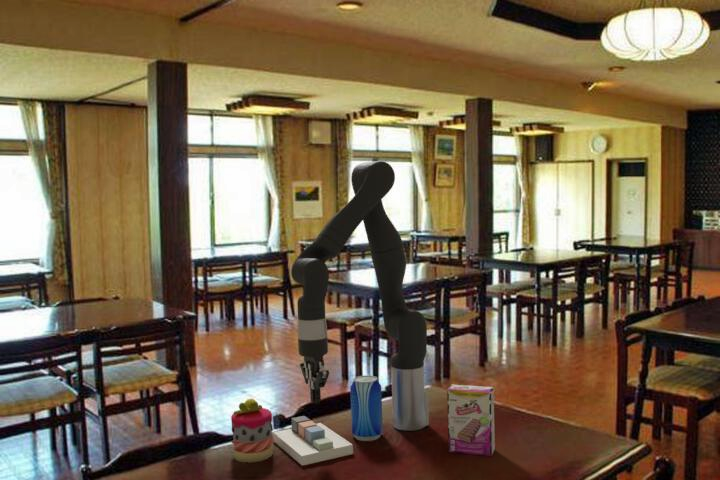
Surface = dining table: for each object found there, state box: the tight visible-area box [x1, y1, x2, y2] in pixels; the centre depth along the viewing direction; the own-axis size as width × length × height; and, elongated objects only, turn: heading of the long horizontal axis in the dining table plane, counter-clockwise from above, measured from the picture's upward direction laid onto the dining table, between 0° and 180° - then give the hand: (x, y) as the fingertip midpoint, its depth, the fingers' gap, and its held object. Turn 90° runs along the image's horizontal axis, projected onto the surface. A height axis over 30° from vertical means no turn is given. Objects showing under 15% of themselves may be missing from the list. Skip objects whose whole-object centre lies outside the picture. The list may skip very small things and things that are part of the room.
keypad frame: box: [272, 422, 354, 466], centre depth 178 cm, size 14×20×2 cm
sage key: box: [313, 437, 333, 451], centre depth 171 cm, size 4×4×4 cm
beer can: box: [349, 375, 384, 442], centre depth 184 cm, size 8×8×16 cm
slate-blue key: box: [305, 426, 325, 445], centre depth 176 cm, size 4×4×4 cm
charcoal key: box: [291, 415, 311, 434], centre depth 184 cm, size 4×4×4 cm
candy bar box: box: [446, 384, 496, 457], centre depth 170 cm, size 11×5×16 cm, turn 71°
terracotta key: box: [298, 420, 317, 440], centre depth 180 cm, size 4×4×4 cm
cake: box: [230, 398, 275, 463], centre depth 174 cm, size 10×11×15 cm
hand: (315, 402), depth 174 cm, fingers closed
